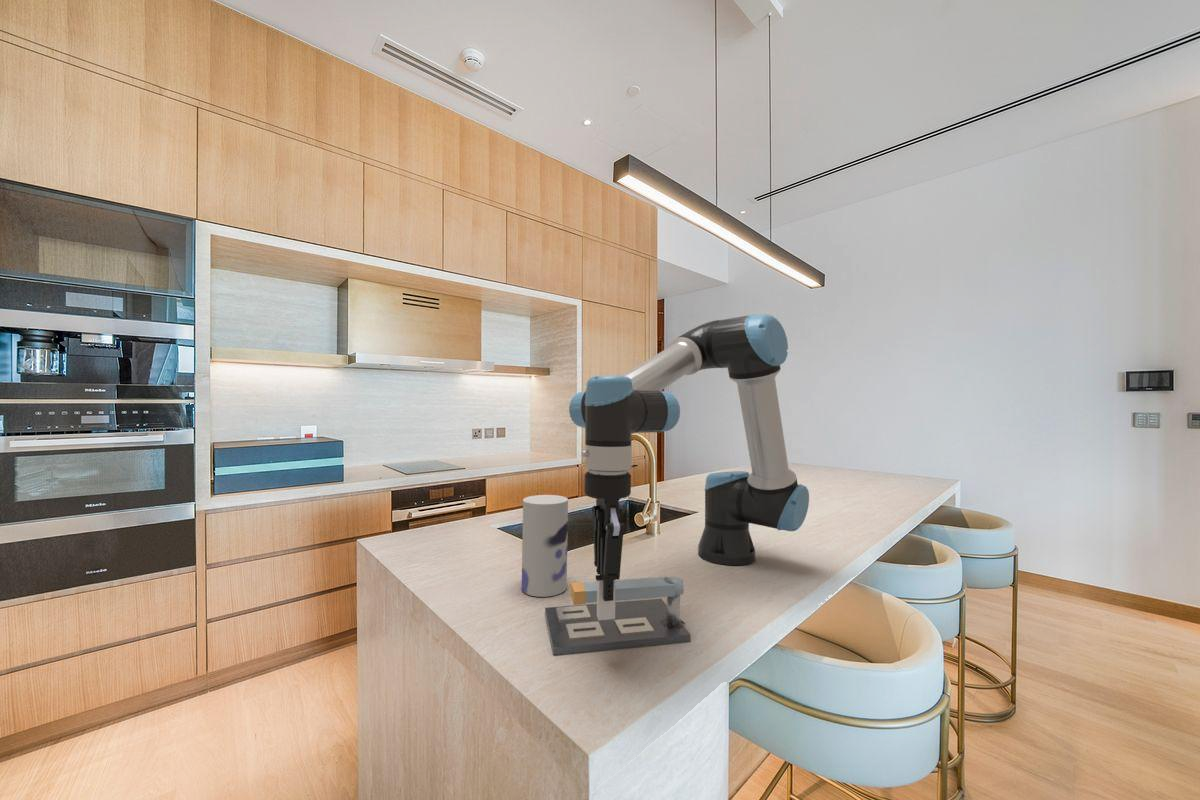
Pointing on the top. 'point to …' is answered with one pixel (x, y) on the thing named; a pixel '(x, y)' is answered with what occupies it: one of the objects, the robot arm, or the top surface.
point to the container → (544, 545)
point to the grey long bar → (629, 589)
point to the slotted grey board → (611, 627)
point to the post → (673, 612)
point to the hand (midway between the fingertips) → (605, 617)
